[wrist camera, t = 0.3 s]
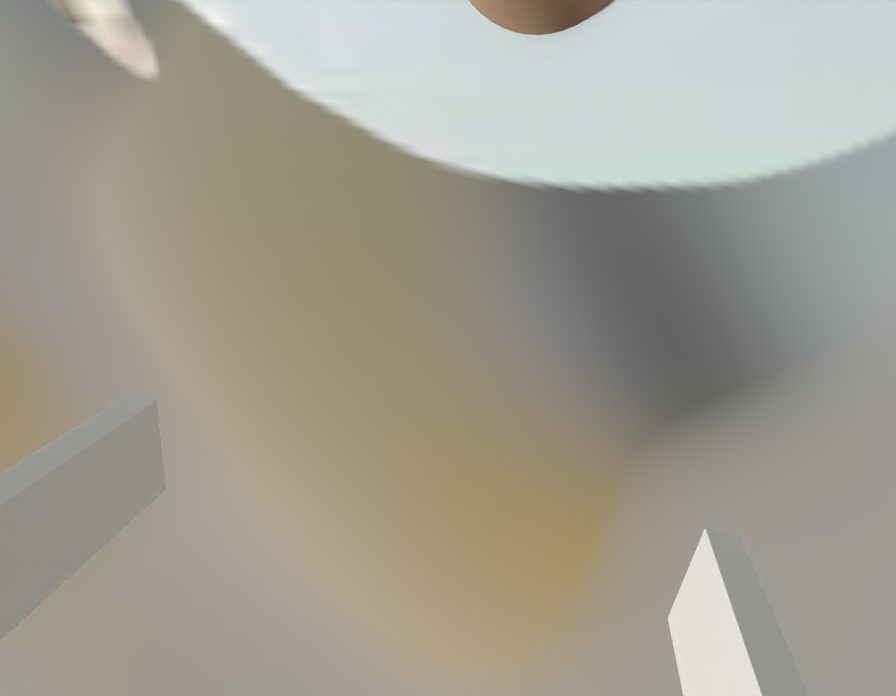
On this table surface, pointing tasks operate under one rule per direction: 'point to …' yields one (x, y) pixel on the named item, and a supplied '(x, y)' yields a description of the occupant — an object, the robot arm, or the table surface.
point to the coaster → (537, 14)
